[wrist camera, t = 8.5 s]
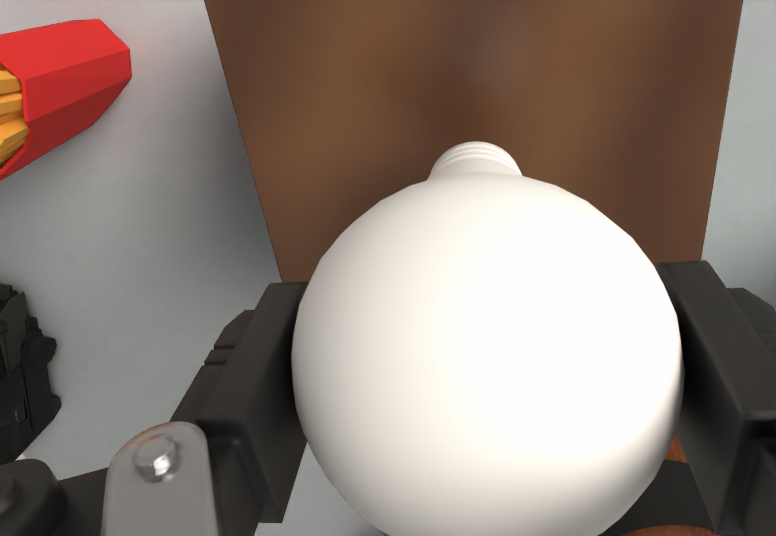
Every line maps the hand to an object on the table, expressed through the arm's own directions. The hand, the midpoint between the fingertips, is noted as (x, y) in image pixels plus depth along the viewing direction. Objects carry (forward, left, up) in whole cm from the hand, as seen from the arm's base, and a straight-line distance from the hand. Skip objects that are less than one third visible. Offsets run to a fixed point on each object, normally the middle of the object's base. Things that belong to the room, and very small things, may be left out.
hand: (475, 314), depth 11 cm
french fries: (+20, -2, -21) cm, 29 cm away
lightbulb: (0, 0, -7) cm, 7 cm away
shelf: (0, 0, -20) cm, 20 cm away
